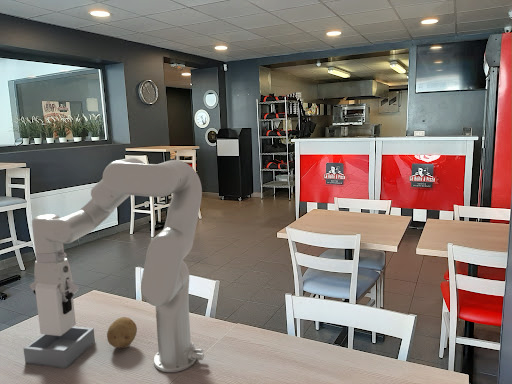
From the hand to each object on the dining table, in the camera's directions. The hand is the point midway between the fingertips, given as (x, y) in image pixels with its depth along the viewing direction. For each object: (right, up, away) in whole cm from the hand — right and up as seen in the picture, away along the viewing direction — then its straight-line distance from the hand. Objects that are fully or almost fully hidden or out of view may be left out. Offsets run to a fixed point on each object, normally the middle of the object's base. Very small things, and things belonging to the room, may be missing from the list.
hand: (56, 310), depth 121 cm
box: (0, -14, +3) cm, 14 cm away
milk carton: (0, -6, +1) cm, 7 cm away
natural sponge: (+19, -13, +4) cm, 24 cm away
